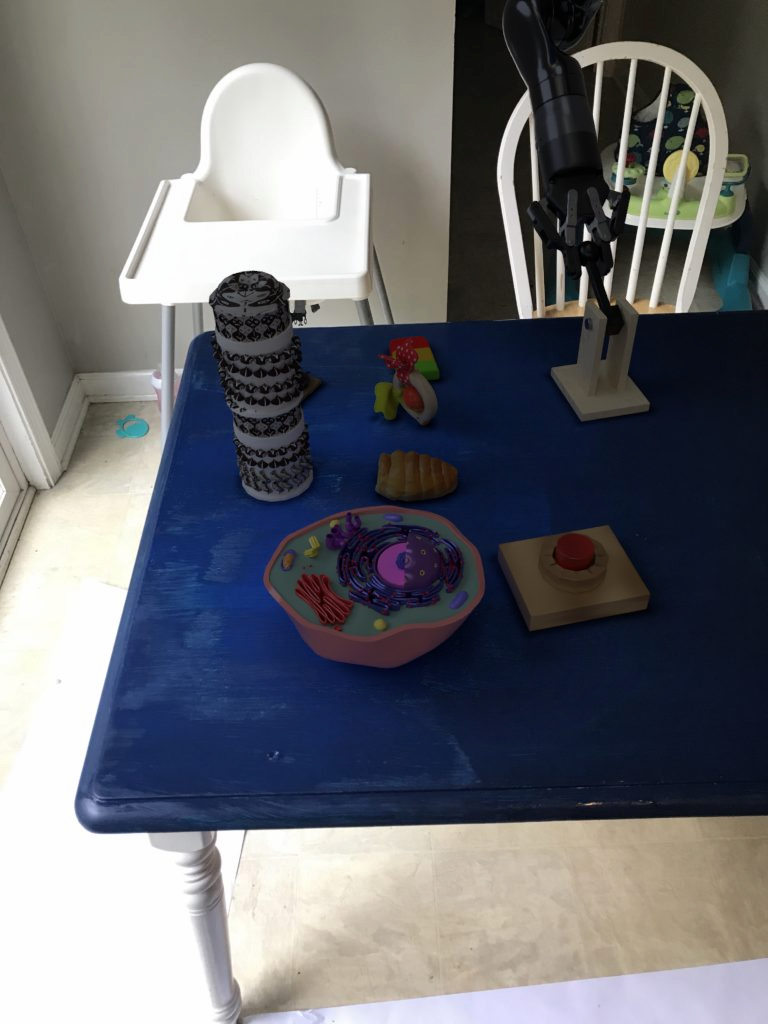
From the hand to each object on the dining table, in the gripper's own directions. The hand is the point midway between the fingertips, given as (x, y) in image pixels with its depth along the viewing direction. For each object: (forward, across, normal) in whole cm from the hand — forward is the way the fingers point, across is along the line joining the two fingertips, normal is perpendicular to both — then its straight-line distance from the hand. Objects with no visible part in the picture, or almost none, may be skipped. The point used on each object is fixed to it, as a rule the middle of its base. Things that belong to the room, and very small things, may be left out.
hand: (591, 275), depth 105 cm
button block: (+36, -16, -17) cm, 43 cm away
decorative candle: (+19, -43, 0) cm, 47 cm away
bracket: (+14, 0, +4) cm, 15 cm away
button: (+33, -16, -20) cm, 42 cm away
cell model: (+37, -36, -18) cm, 55 cm away
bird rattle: (+14, -25, +5) cm, 29 cm away
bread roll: (+6, -41, +13) cm, 44 cm away
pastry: (+23, -28, -4) cm, 36 cm away
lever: (+2, 0, 0) cm, 2 cm away
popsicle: (+7, -22, +12) cm, 26 cm away
